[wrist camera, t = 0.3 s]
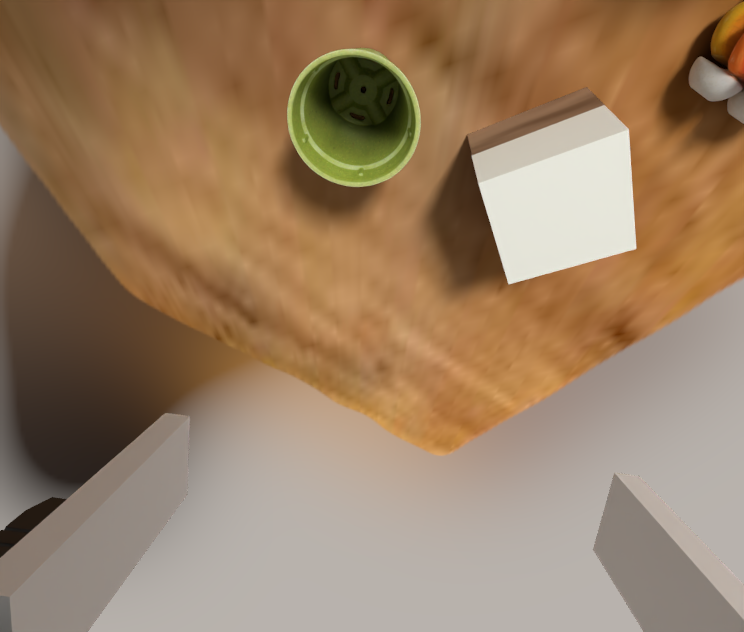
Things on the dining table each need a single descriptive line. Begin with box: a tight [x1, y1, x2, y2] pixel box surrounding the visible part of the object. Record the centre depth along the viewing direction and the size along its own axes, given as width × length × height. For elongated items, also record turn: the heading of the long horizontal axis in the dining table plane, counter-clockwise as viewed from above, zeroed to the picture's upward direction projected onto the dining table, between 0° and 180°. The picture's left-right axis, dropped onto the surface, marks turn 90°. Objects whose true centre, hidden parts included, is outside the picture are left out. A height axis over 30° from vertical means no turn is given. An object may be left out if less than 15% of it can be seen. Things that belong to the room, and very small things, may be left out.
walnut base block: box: [467, 87, 604, 155], centre depth 39 cm, size 10×10×5 cm
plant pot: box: [287, 48, 421, 187], centre depth 34 cm, size 9×9×9 cm
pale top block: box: [472, 105, 636, 284], centre depth 35 cm, size 10×10×5 cm
